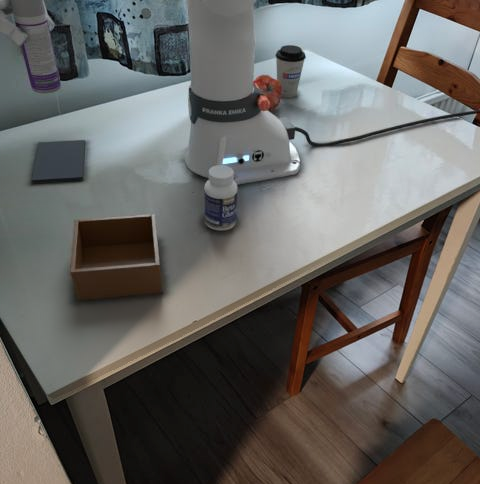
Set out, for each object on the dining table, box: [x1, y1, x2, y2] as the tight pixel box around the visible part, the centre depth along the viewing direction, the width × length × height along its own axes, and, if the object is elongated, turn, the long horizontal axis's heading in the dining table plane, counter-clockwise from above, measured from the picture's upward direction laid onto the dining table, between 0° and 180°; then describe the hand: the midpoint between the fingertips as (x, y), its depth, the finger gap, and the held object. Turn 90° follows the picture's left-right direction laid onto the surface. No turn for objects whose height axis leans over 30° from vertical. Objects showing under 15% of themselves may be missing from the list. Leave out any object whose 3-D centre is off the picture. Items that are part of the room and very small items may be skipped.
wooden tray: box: [69, 213, 164, 301], centre depth 78 cm, size 12×12×5 cm
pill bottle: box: [203, 165, 238, 232], centre depth 86 cm, size 5×5×10 cm
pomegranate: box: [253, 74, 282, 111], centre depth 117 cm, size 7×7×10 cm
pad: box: [31, 139, 86, 184], centre depth 101 cm, size 9×14×1 cm, turn 10°
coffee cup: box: [275, 44, 307, 98], centre depth 122 cm, size 7×7×10 cm
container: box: [10, 0, 62, 94], centre depth 80 cm, size 5×5×15 cm
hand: (38, 35), depth 80 cm, fingers closed on container, 4 cm apart
